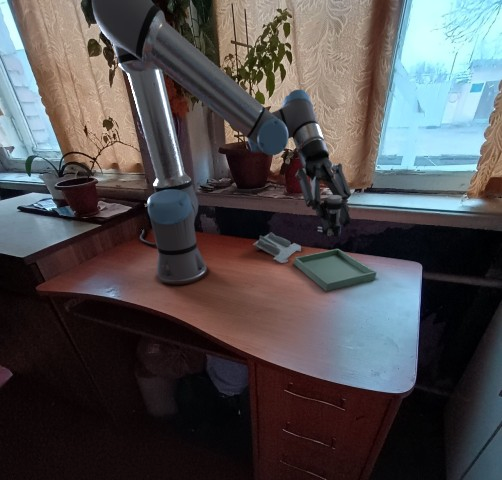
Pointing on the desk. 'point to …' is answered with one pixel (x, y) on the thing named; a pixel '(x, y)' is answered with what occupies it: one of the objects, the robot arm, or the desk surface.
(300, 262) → the tray
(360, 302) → the desk surface
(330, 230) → the push button
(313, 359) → the desk surface
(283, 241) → the metal bracket
